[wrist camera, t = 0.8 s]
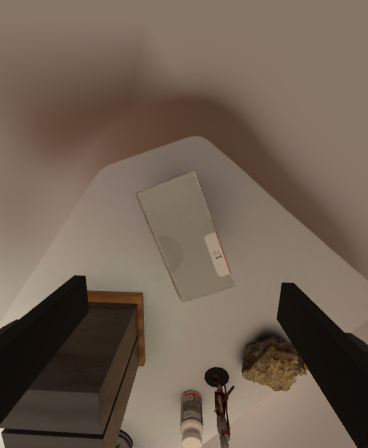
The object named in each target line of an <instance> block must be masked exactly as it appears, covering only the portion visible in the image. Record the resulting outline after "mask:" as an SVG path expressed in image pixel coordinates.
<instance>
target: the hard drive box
mask: <svg viewBox="0 0 368 448" xmlns="http://www.w3.org/2000/svg"><path fill="white" fill-rule="evenodd" d="M136 196H137V199H138V201H139V204H140V206H141V209H142V211H143V213H144V216H145V218H146V221H147V223H148V225H149V228H150V230H151V232H152V235H153V237H154V239H155V241H156V244H157V246H158V249H159V251H160V253H161V256H162V258H163V261H164V263H165V265H166V268H167V270H168V273H169V275H170V277H171V280H172V282H173V285H174V287H175V289H176V291H177V294H178V296H179V298H180V300H181V301H182V302H187V301H190V300H193V299H196V298H199V297H202V296H205V295H209V294H212V293H215V292H218V291H221V290H225V289H228V288H231V287H233V286H235V284H234V281H233V278H232V275H231V272H230V269H229V266H228V264H227V261H226V258H225V255H224V252H223V250H222V247H221V244H220V242H219V239H218V236H217V233H216V231H215V228H214V225H213V222H212V219H211V216H210V213H209V210H208V208H207V205H206V202H205V199H204V196H203V193H202V191H201V188H200V185H199V182H198V179H197V176H196V174H195V171H192V172H189V173H186V174H184V175H181V176H179V177H176V178H174V179H171V180H169V181H166V182H163V183H161V184H158V185H156V186H153V187H150V188H148V189H145V190H143V191H140V192H138V193H136Z"/></svg>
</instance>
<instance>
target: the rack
mask: <svg viewBox="0 0 368 448" xmlns="http://www.w3.org/2000/svg"><path fill="white" fill-rule="evenodd" d="M87 295H88V305H89V312H88V314H87V315H86V316H85V317H84V319H83V320H82V321H81V322H80V324H79V325H78V326H77V328H76V329H75V330H74V331H73V333H72V334H71V335H70V336H69V338H68V339H67V340H66V342H65V343H64V344H63V345H62V347H61V348H60V349H59V350H58V352H57V353H56V354H55V356H54V357H53V358H52V359H51V361H50V362H49V363H48V364H47V366H46V367H45V368H44V370H43V371H42V372H41V373H40V375H39V376H38V377H37V378H36V380H35V381H34V382H33V384H32V385H31V386H30V387H29V389H28V390H27V391H26V392H25V394H24V395H23V396H22V398H21V399H20V400H19V401H18V403H17V404H16V405H15V406H14V408H13V409H12V410H11V412H10V413H9V414H8V415H7V417H6V418H5V419H4V420H3V422H2V423H1V424H0V428H5V429H4V430H3V431H2V433H1V434H2V438H3V442H4V445H5V448H115V445H116V442H117V438H118V435H119V431H120V428H121V424H122V421H123V417H124V414H125V410H126V407H127V403H128V400H129V397H130V393H131V390H132V386H133V383H134V379H135V376H136V372H137V369H138V366H144V364H145V341H144V313H143V293H128V292H101V291H87Z"/></svg>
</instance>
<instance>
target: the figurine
mask: <svg viewBox="0 0 368 448" xmlns="http://www.w3.org/2000/svg"><path fill="white" fill-rule="evenodd" d="M228 380H229V375H228V373H227V371H225V370H224V369H222V368H217V367H215V368H211V369H209V370H208V371H207V372H206V373H205V381H206V383H207V384H209V385H210V386H212V387H218V389H217V392H216V391H215V410H214V412H215V411H216V414H217V428H218V433H219V434H220V441H221V447H222V448H228V447H229V444H228V441H229V440H230V427H229V420H228V414H227V400H228V398H229V397H228V395H229V394H230V393H231V391H232V390H233V389H234V386H232V387H231V389H230V390H229V391H228V393H227V392H226V386H225V384H226V383H227V382H228ZM222 386H224V388H225V393H223V390H222ZM225 399H226V401H225ZM225 406H226V415H227V423H226V418H225Z"/></svg>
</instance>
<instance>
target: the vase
mask: <svg viewBox="0 0 368 448" xmlns="http://www.w3.org/2000/svg"><path fill="white" fill-rule="evenodd" d="M132 446H133V442H132V439H131V438H130V436H129V435H128V434H127V433H125V432H124V431H122V430H120V431H119V435H118V438H117V442H116V445H115V448H132Z"/></svg>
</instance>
